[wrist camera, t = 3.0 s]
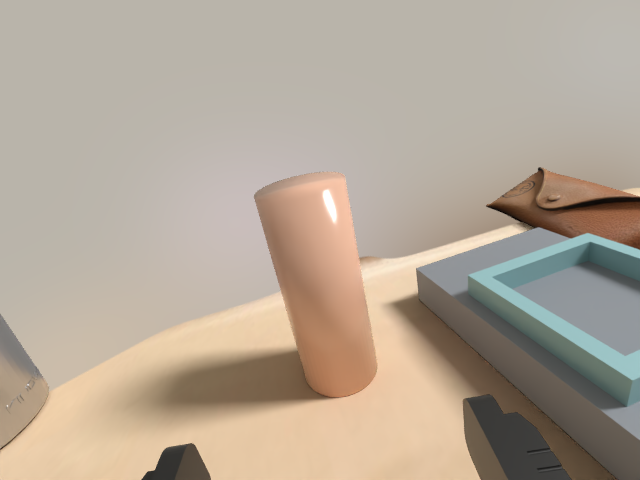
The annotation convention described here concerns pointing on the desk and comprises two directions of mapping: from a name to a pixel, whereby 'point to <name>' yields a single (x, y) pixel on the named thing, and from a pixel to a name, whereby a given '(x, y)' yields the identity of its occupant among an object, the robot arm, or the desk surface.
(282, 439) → the desk surface
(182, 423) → the desk surface
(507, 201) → the sunglasses case
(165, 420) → the desk surface
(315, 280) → the glossy peach cylinder
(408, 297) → the desk surface
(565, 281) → the platform
